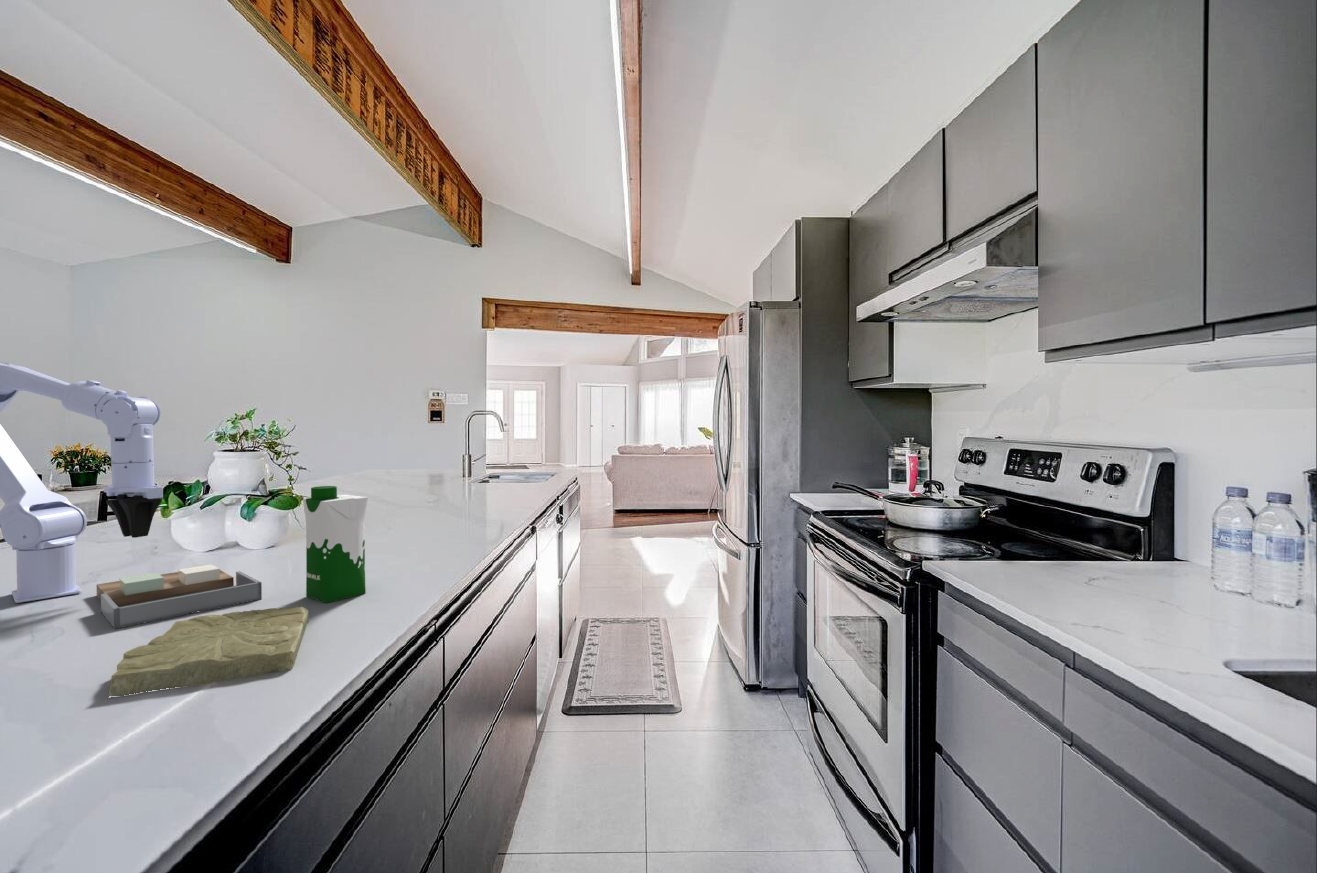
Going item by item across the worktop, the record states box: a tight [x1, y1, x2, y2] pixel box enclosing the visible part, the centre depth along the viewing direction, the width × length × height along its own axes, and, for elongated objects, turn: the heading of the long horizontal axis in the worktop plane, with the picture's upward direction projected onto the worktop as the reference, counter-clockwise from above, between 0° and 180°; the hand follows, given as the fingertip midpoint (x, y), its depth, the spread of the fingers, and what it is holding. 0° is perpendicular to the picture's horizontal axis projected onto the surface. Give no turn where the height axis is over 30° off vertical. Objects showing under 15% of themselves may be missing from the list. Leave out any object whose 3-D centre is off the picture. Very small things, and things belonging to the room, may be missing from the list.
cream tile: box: [178, 564, 221, 585], centre depth 105 cm, size 5×5×2 cm
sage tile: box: [119, 572, 164, 595], centre depth 99 cm, size 5×5×2 cm
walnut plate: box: [96, 569, 235, 607], centre depth 104 cm, size 13×17×2 cm
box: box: [100, 570, 263, 630], centre depth 96 cm, size 12×19×3 cm, turn 142°
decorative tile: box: [107, 606, 310, 697], centre depth 76 cm, size 19×20×4 cm
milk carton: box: [302, 485, 369, 604], centre depth 103 cm, size 9×9×20 cm
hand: (135, 536), depth 103 cm, fingers open, 2 cm apart
